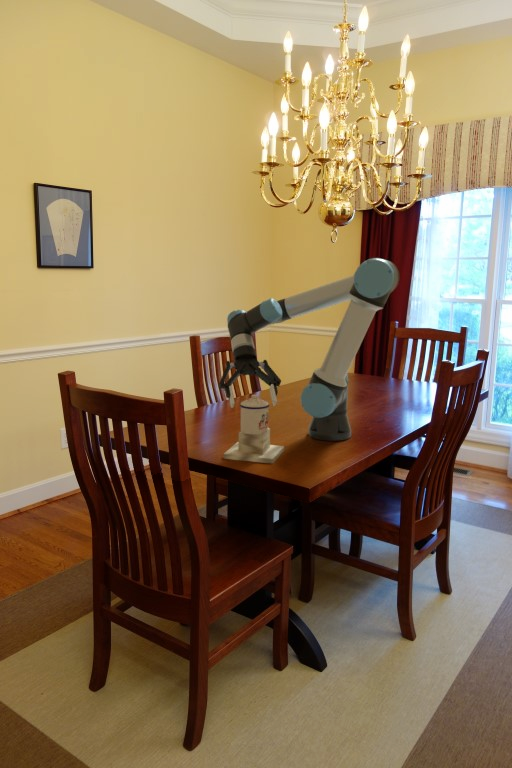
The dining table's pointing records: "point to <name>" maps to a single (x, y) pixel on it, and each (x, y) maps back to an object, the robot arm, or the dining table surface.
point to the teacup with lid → (254, 416)
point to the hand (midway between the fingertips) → (254, 404)
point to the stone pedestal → (254, 449)
